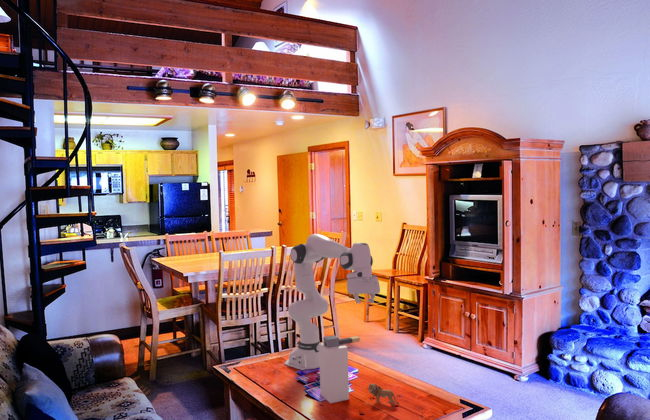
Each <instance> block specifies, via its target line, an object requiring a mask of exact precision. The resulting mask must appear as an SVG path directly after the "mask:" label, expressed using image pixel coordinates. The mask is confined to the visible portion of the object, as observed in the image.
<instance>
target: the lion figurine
mask: <svg viewBox="0 0 650 420" xmlns="http://www.w3.org/2000/svg"><path fill="white" fill-rule="evenodd" d="M368 391H369V394H371V395H372V397H376V401H375V403H376V404H379V403H380V397H381V398H388V403H392V404H391V406H392V407H395V405H396V404H397V405H398V404H399V405H400V403H399V402H398V401H397V399H396V397H395V393H394V392H393V390H391V389H384V388H382V387H381V386H379V385H377V384H376V383H372V382H371V383H370V384H368ZM393 398H394V399H393Z"/></svg>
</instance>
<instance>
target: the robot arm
mask: <svg viewBox="0 0 650 420" xmlns="http://www.w3.org/2000/svg"><path fill="white" fill-rule="evenodd" d="M289 254H290V259H291V261H292V262H293V263H294V267H293V269H294V270H293V271H294V280H295V288H296V290H297V291H298V292H299V293H301V294H303V295H304V297H305V299H301V300H296V301H294V302H292V303H289V306H288V310H287V311H288V315H289V317H290V318H291V320H293V321H294V322H295V323H296V324H297V326H298V329H299V341H297V342H296V345H297V347H295V348H294V349H293V350H291V352H290V353H289V354H288V359H286V360H285V362H284V365H285V366H288V367H292V368H294V369H297V370H299V371H300V370H301V371H305V369H306V370H312V369H313V370H315V369H318V368H320V360H319V343H321V341H320V331H319V330H320V329H319V327H318V325H317V324H315V323H313V322H312V318H315V317H319V316H322V315H325V314H326V313H327V312H328V311H329V307H330V306H329V301H328V300H327V299H326V298H325V297H324V296H323V295H321V294H320V293H319V291H318V289H317V286H316V281H315V276H314V269H313V264H314V263H316V264H318V263H319V262H321V261H323V260H324V259H339V264H340V267H341V268H342V269H343V270H346V271H351V272H349V273H348V274H346V279H347V280H346V286H347V287H346V289H347V293H348V294H349V295H350V294H351V295H353V298H354V299H355V304H361V301H362V300H361V299H360V297H359V296H360V294H361V295H362V294H363V295H364V294H365V295H369V296H370V297H369V299H368V303H369V304H373V303H375V296H376V294H380V292H381V288H380V287H381V286H380V282H379V279H378V276H377V275H376V274H375V275H374V274H373V269H372V266H373V263H374V259H373V257H372V254H371V249H370V246H369V244H368V243H366V242H353V244H352V246H351V247H348V246H345V245H343V244H341V243H339V242H337V241H335V240H334V239H331V237H330V238H329V237H327V236H325V235H323V234H319V233H312V234H310V235H309V236H308V237H307V239H306V243H299V244H297V245H295V246H293V247H292V248H291V249H290V253H289Z"/></svg>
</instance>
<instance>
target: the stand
mask: <svg viewBox="0 0 650 420" xmlns="http://www.w3.org/2000/svg"><path fill="white" fill-rule="evenodd" d="M348 348H349V347H348V346H347V345H346V344H342V345H339V346H335V347H330V348H327V347H326V346H324V342H320V343H319V360H320V367H319V385H320V386H319V387H320V389H319V390H320V395H321V396H322V397H323V398H324V399H325V401H327V402H328V403H329V404H333V403H338V402H343V401H347V400H349V399H350V396H349V395H350V389H349V388H350V385H349V357H348V356H349V353H348V350H349V349H348Z"/></svg>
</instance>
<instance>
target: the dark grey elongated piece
mask: <svg viewBox="0 0 650 420" xmlns="http://www.w3.org/2000/svg"><path fill="white" fill-rule="evenodd" d="M360 340H361V339H360V337H359V336H357V335H355V336H350V337H345V338H339V337H338V336H337V335H335V334H333V335H327V336H323V343H324V346H326V347H327V348H330V347H335V346H339V345H342V344H344V345H346V344H351V343H358V342H361V341H360Z"/></svg>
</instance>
